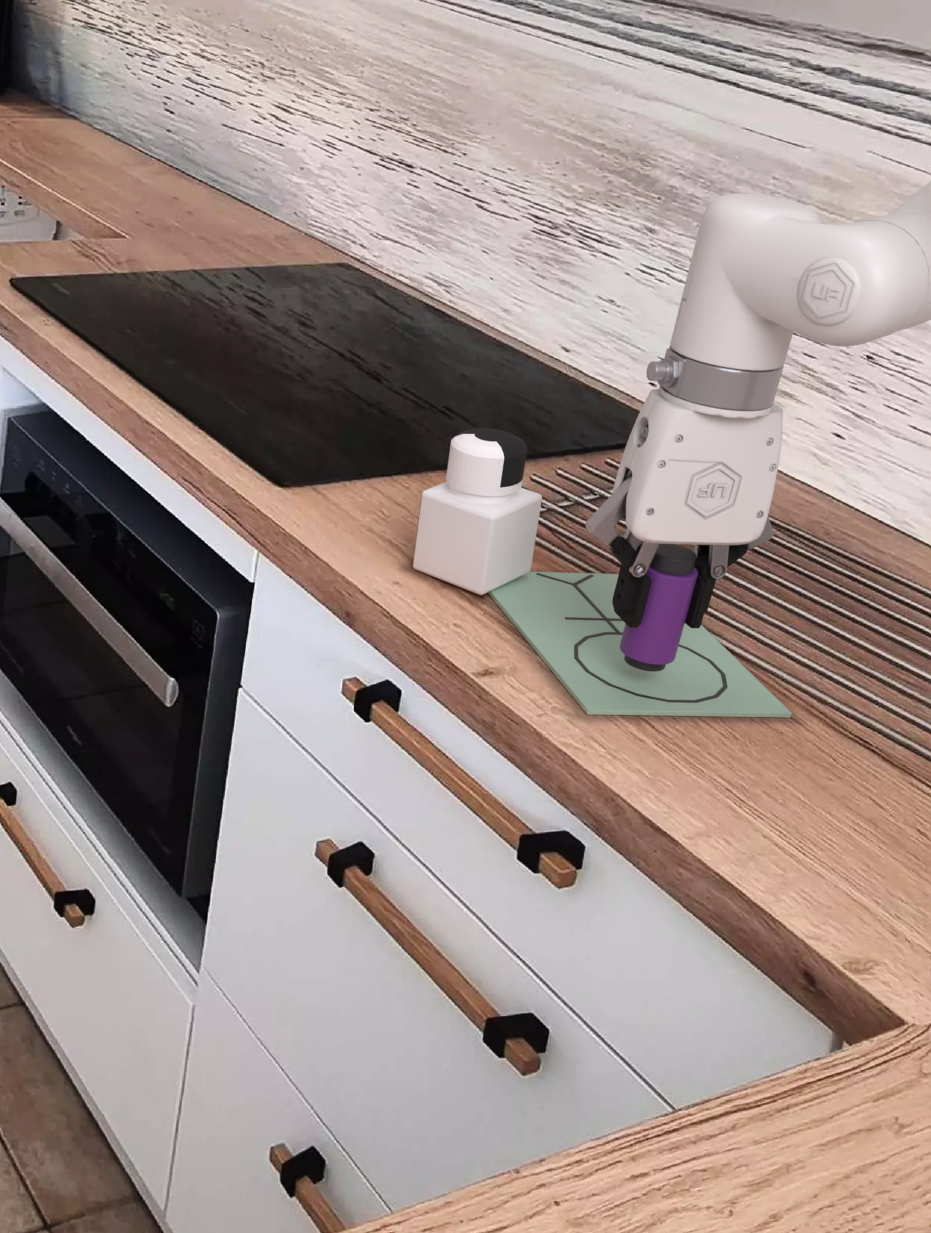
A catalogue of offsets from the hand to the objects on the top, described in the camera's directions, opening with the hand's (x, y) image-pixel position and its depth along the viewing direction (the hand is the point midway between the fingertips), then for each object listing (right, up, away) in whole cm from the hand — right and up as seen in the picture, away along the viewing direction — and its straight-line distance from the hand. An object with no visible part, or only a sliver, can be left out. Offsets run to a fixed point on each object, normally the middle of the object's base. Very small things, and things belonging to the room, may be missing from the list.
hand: (656, 617), depth 129 cm
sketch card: (+1, -2, +9) cm, 9 cm away
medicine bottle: (-9, +4, +18) cm, 21 cm away
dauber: (0, -3, +2) cm, 4 cm away
